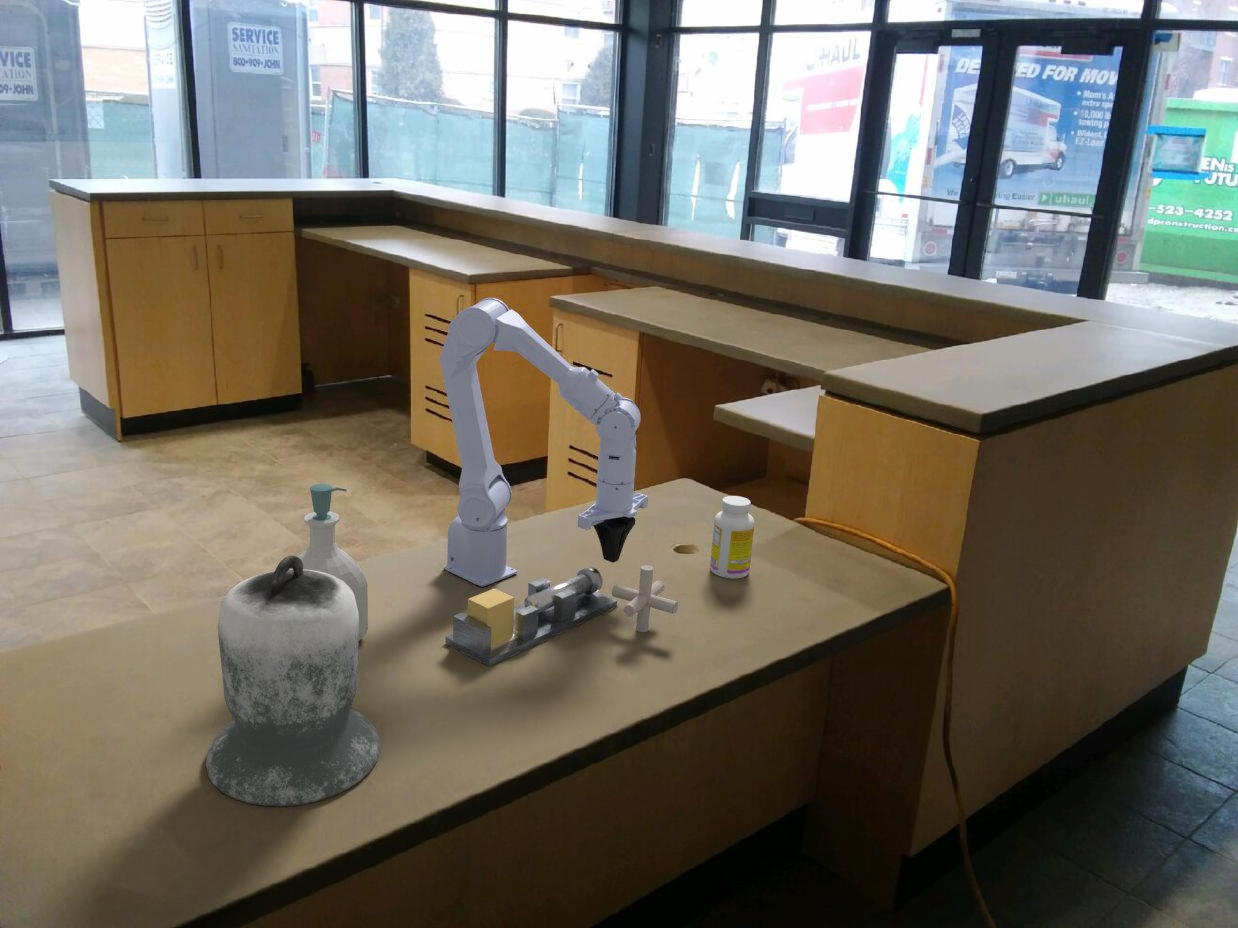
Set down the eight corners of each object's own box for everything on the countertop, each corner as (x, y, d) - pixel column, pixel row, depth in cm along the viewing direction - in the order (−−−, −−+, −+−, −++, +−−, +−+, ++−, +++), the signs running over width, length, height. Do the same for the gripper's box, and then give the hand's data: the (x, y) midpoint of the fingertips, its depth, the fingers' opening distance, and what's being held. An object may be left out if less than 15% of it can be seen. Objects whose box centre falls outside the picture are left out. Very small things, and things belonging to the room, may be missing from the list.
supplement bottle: (755, 570, 182) (763, 500, 178) (738, 583, 176) (746, 511, 172) (720, 560, 185) (727, 490, 181) (702, 572, 180) (709, 501, 176)
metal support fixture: (445, 642, 151) (445, 612, 150) (573, 587, 171) (575, 559, 170) (489, 666, 146) (490, 634, 145) (616, 606, 166) (618, 577, 164)
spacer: (467, 637, 151) (468, 598, 149) (493, 625, 155) (494, 588, 153) (486, 647, 149) (487, 608, 147) (512, 635, 152) (514, 597, 150)
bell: (407, 727, 131) (407, 538, 123) (329, 823, 113) (323, 610, 105) (266, 698, 135) (256, 514, 127) (169, 786, 117) (151, 578, 109)
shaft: (520, 613, 159) (521, 588, 157) (582, 586, 169) (583, 563, 167) (540, 622, 156) (541, 597, 155) (601, 594, 166) (603, 571, 165)
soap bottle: (374, 640, 151) (372, 488, 144) (314, 662, 144) (308, 504, 137) (335, 615, 157) (332, 469, 150) (276, 636, 150) (269, 483, 143)
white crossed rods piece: (596, 633, 157) (600, 570, 154) (627, 608, 165) (632, 548, 162) (657, 652, 153) (663, 588, 150) (686, 625, 161) (692, 564, 158)
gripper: (604, 496, 157) (599, 581, 161) (665, 474, 168) (659, 554, 172) (569, 484, 161) (565, 566, 166) (630, 463, 172) (625, 541, 176)
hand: (610, 559), depth 169 cm, fingers closed
